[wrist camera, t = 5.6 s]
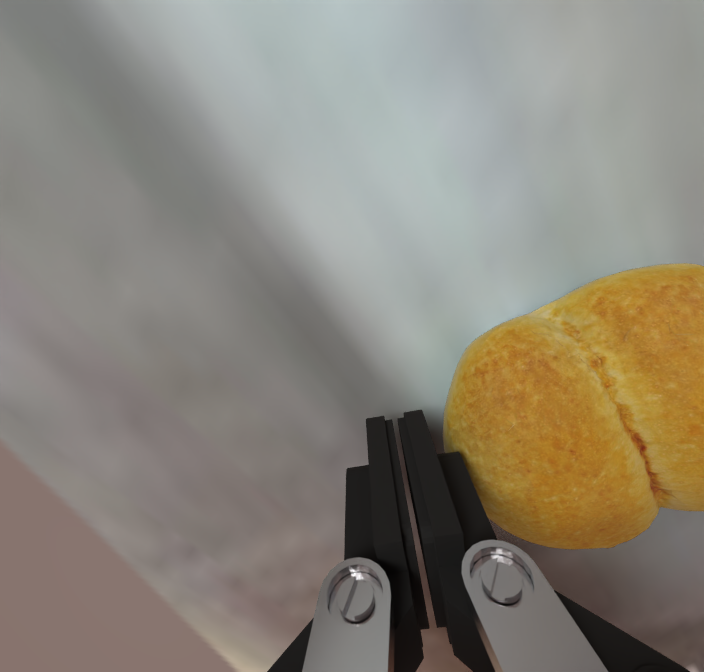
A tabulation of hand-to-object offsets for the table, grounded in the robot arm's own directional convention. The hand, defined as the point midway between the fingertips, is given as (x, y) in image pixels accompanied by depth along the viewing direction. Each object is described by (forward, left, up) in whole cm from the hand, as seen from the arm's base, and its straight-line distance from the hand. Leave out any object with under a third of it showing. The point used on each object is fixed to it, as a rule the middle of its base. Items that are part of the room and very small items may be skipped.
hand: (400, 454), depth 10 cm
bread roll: (0, +6, -2) cm, 6 cm away
